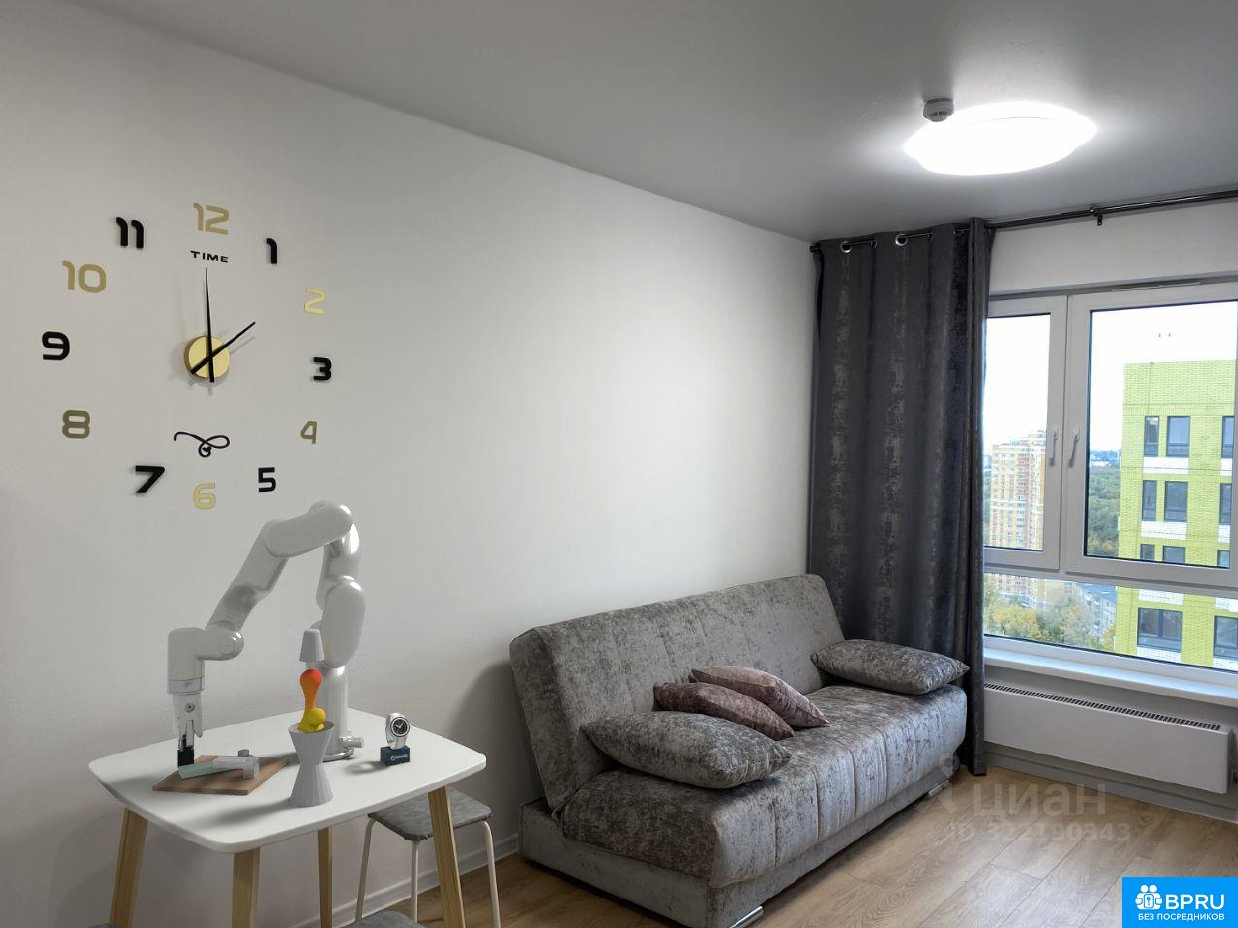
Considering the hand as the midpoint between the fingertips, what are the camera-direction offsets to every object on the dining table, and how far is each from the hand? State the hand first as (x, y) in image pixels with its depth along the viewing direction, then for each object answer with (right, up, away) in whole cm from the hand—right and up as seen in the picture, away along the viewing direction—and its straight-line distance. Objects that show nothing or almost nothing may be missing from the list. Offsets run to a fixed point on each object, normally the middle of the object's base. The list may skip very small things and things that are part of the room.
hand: (185, 767), depth 203 cm
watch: (+44, -2, +10) cm, 45 cm away
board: (+8, -2, 0) cm, 9 cm away
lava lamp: (+32, -2, -13) cm, 35 cm away
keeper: (+12, -2, -3) cm, 13 cm away
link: (+7, -1, +1) cm, 7 cm away
